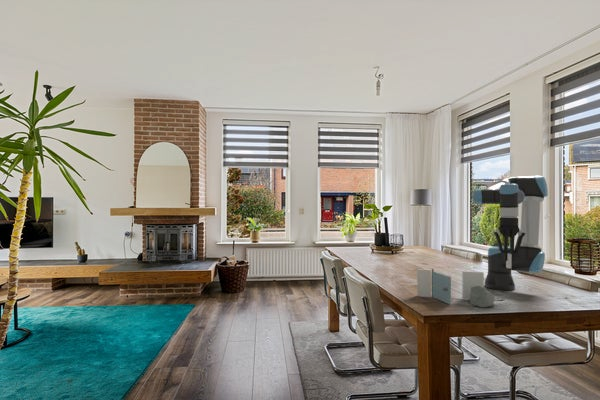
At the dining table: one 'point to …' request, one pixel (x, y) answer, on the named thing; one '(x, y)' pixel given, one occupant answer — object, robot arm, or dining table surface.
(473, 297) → the decorative stone
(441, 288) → the door
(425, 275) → the wall
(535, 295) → the dining table surface
